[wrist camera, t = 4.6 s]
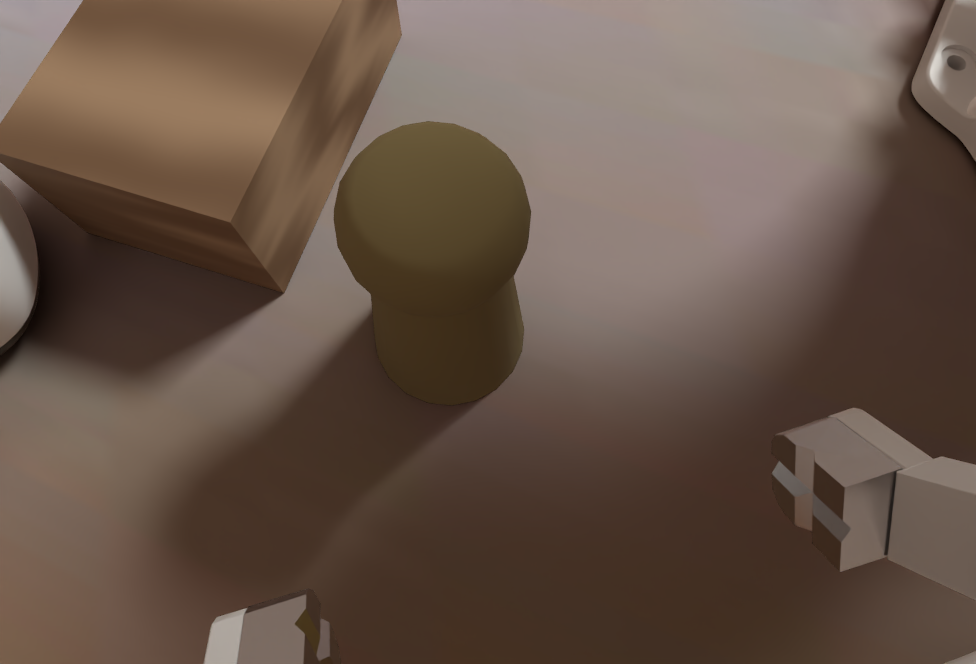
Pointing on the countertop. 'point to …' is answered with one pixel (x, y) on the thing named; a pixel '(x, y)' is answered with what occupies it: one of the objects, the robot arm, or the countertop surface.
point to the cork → (437, 257)
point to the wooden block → (201, 123)
